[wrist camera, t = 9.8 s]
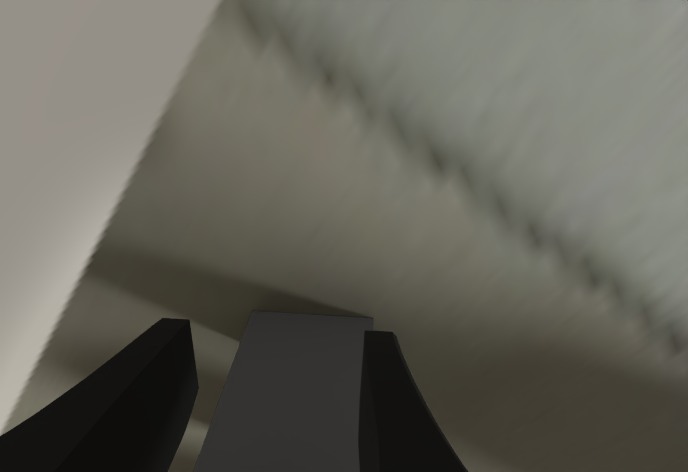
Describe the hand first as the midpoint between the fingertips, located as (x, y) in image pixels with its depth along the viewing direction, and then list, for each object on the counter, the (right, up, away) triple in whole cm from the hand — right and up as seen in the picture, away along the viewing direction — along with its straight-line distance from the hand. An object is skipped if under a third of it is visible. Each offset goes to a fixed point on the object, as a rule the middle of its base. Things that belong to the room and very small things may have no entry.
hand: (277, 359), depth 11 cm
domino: (0, -1, +9) cm, 9 cm away
